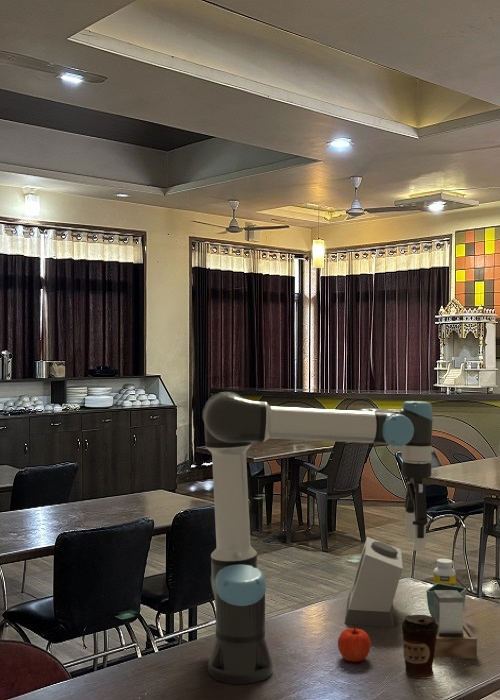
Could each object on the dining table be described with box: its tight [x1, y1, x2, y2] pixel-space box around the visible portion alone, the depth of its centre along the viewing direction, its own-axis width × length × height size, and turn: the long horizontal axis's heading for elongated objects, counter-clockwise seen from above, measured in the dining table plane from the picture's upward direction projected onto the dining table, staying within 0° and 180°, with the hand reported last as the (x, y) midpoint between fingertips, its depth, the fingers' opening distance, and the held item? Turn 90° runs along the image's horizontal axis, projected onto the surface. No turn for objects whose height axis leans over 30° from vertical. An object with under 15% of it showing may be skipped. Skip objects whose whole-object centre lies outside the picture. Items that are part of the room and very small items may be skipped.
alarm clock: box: [344, 536, 404, 627], centre depth 225 cm, size 20×16×20 cm
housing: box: [434, 590, 464, 637], centre depth 198 cm, size 6×6×10 cm
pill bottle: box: [432, 558, 457, 586], centre depth 237 cm, size 6×6×12 cm
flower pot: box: [426, 583, 467, 618], centre depth 218 cm, size 9×9×9 cm
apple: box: [337, 626, 372, 663], centre depth 192 cm, size 8×8×8 cm
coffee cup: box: [401, 614, 438, 679], centre depth 183 cm, size 9×8×13 cm
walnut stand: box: [434, 622, 478, 659], centre depth 198 cm, size 11×11×5 cm
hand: (414, 543), depth 203 cm, fingers open, 13 cm apart
